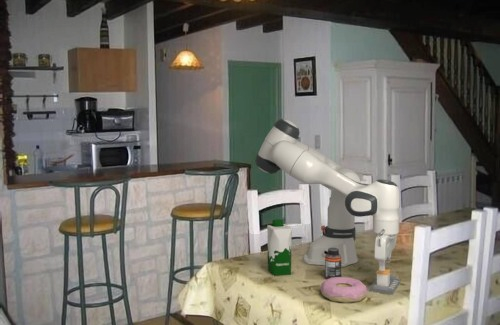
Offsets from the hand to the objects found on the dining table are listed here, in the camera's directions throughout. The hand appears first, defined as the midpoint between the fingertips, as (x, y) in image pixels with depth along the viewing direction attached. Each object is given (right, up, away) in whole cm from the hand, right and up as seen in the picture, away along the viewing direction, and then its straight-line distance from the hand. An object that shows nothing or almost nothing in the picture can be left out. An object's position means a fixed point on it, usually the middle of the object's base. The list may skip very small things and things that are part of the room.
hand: (385, 266), depth 176 cm
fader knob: (-1, -7, 0) cm, 7 cm away
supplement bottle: (-16, -7, +13) cm, 22 cm away
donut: (-15, -9, -5) cm, 19 cm away
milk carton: (-35, -7, +20) cm, 41 cm away
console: (+1, -8, +3) cm, 9 cm away
